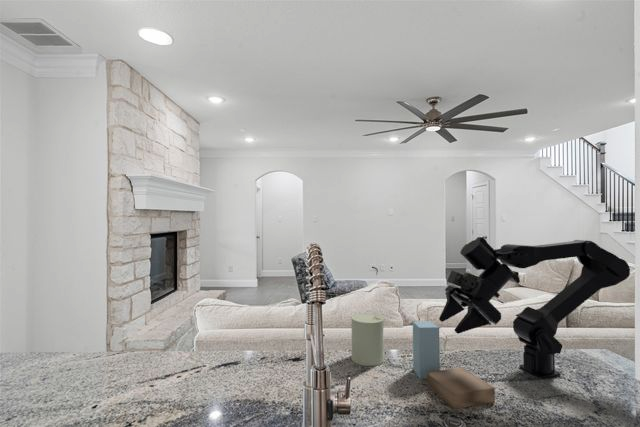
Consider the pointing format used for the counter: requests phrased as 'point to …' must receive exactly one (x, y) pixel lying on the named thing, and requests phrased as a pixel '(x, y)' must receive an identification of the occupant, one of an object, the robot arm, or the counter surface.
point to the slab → (460, 387)
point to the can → (367, 339)
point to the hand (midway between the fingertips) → (447, 325)
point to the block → (425, 348)
